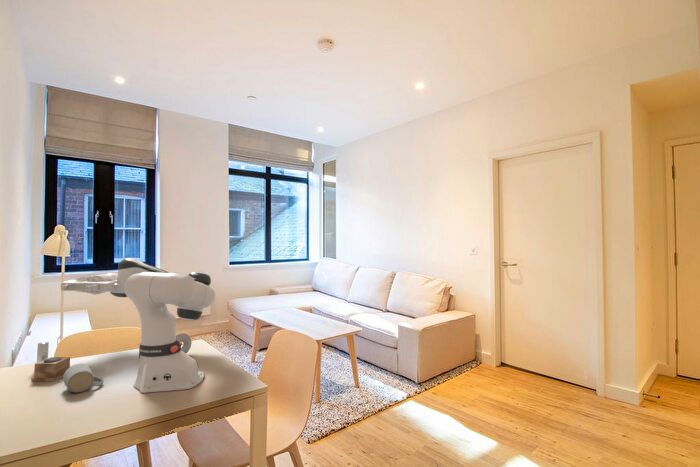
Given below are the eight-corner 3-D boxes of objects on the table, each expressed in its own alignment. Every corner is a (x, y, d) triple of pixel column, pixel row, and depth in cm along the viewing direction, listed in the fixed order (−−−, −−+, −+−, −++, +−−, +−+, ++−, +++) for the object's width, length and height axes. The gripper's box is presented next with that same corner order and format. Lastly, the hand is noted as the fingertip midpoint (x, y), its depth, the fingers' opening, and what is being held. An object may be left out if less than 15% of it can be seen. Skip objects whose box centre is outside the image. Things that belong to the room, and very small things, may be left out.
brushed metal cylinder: (49, 367, 135) (50, 341, 135) (42, 370, 132) (44, 344, 132) (41, 367, 135) (42, 341, 135) (34, 370, 132) (35, 344, 132)
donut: (172, 360, 145) (173, 336, 146) (167, 359, 147) (168, 335, 147) (192, 354, 154) (193, 331, 155) (187, 352, 156) (188, 330, 156)
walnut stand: (71, 372, 130) (72, 355, 130) (54, 381, 122) (55, 362, 122) (49, 372, 130) (50, 355, 130) (31, 381, 122) (32, 363, 122)
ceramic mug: (66, 396, 110) (68, 372, 110) (62, 389, 116) (63, 366, 116) (106, 387, 118) (107, 365, 118) (100, 381, 123) (101, 359, 124)
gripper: (120, 291, 159) (100, 296, 145) (74, 291, 158) (50, 295, 144) (121, 277, 159) (101, 281, 145) (75, 277, 158) (50, 280, 144)
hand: (75, 288), depth 145 cm, fingers open, 8 cm apart
